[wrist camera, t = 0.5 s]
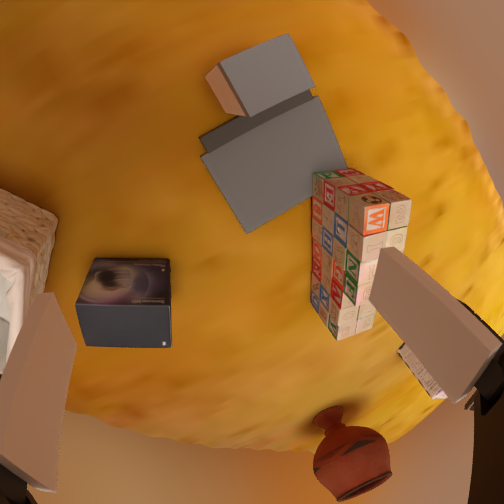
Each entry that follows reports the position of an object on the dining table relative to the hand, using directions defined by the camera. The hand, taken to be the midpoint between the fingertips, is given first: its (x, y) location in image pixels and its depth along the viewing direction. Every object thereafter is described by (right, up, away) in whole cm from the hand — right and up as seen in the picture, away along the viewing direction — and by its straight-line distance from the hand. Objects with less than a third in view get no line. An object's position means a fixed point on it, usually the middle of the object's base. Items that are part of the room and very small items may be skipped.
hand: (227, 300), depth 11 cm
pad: (+4, +13, +24) cm, 28 cm away
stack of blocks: (+12, +3, +32) cm, 34 cm away
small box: (-15, -1, +27) cm, 31 cm away
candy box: (+42, -22, +54) cm, 72 cm away
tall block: (-1, +21, +19) cm, 28 cm away
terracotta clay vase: (+21, -42, +59) cm, 75 cm away
